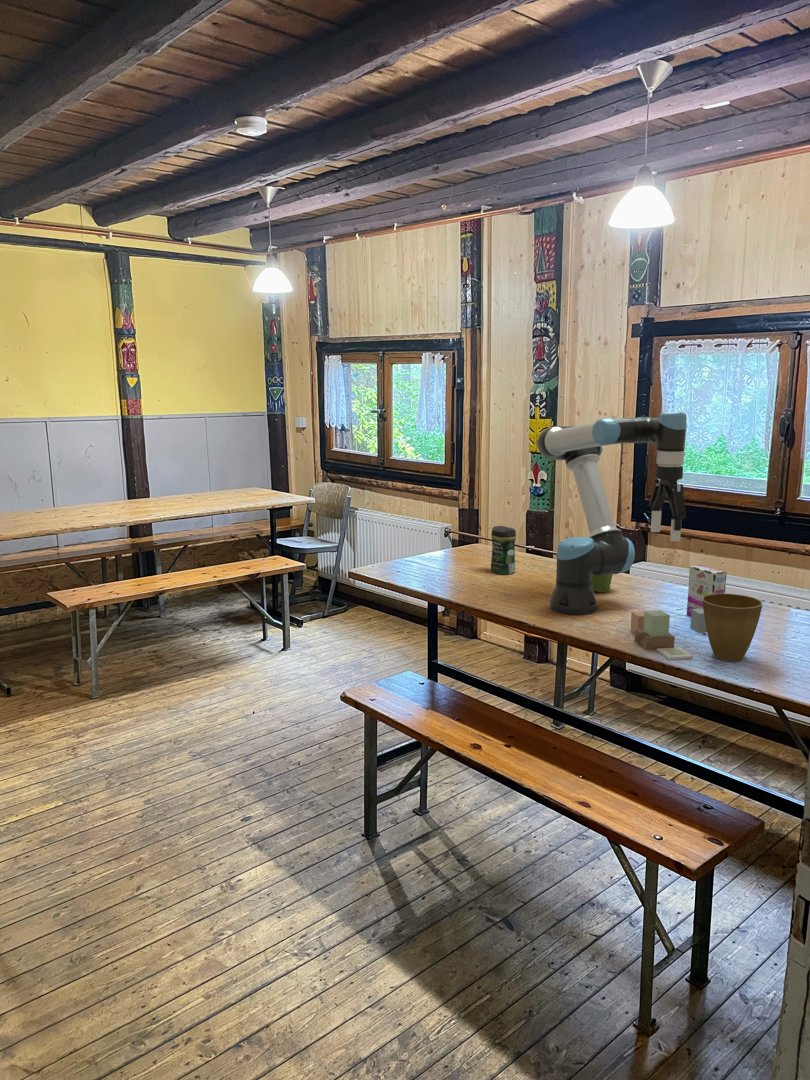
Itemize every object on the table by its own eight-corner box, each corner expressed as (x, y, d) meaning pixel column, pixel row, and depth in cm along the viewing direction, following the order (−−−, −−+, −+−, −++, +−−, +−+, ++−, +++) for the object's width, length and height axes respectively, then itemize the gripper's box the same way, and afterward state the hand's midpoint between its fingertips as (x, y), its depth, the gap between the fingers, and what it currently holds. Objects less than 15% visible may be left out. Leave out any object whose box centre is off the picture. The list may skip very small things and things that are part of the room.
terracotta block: (630, 630, 228) (631, 611, 226) (646, 629, 228) (647, 610, 227) (637, 635, 223) (638, 616, 221) (653, 635, 223) (654, 615, 222)
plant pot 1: (601, 596, 265) (602, 565, 262) (575, 589, 274) (576, 559, 272) (623, 590, 271) (624, 560, 269) (597, 584, 281) (598, 554, 279)
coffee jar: (487, 571, 301) (487, 525, 298) (502, 568, 306) (502, 523, 302) (503, 576, 294) (504, 529, 290) (518, 573, 298) (519, 527, 294)
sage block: (643, 631, 215) (644, 611, 214) (659, 630, 216) (661, 610, 215) (651, 636, 211) (652, 616, 209) (668, 635, 211) (669, 615, 210)
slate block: (690, 627, 230) (691, 609, 228) (705, 627, 230) (707, 608, 229) (698, 633, 225) (699, 613, 224) (714, 632, 225) (715, 613, 224)
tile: (656, 650, 210) (656, 647, 210) (680, 649, 211) (680, 646, 211) (668, 659, 203) (668, 656, 203) (692, 658, 204) (693, 655, 204)
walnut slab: (634, 642, 218) (635, 629, 217) (660, 641, 219) (661, 627, 218) (646, 651, 210) (647, 638, 209) (673, 650, 211) (674, 636, 210)
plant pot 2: (756, 651, 209) (762, 595, 206) (758, 669, 195) (763, 610, 192) (699, 644, 215) (703, 590, 211) (696, 661, 201) (701, 604, 198)
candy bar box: (723, 623, 234) (727, 571, 230) (710, 625, 232) (714, 573, 229) (698, 613, 244) (701, 564, 241) (685, 615, 242) (689, 565, 239)
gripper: (702, 470, 209) (696, 544, 213) (663, 460, 233) (659, 528, 237) (676, 470, 208) (671, 545, 212) (640, 461, 232) (636, 528, 237)
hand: (664, 536), depth 225 cm, fingers open, 13 cm apart
